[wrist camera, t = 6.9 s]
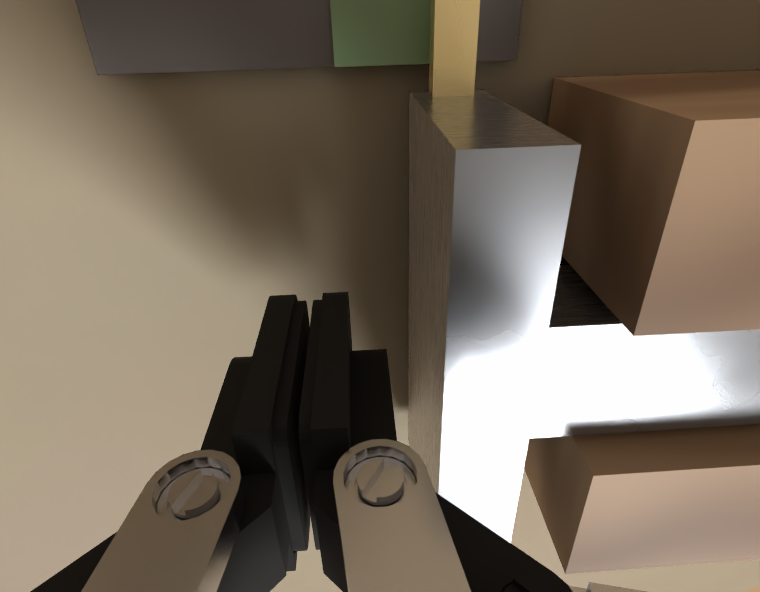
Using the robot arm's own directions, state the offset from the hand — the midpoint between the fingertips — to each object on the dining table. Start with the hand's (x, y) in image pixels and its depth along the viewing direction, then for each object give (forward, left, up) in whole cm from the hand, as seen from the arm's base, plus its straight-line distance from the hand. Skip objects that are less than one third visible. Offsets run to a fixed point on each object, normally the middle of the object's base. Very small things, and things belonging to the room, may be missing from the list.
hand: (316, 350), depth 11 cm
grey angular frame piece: (-1, +7, -2) cm, 8 cm away
